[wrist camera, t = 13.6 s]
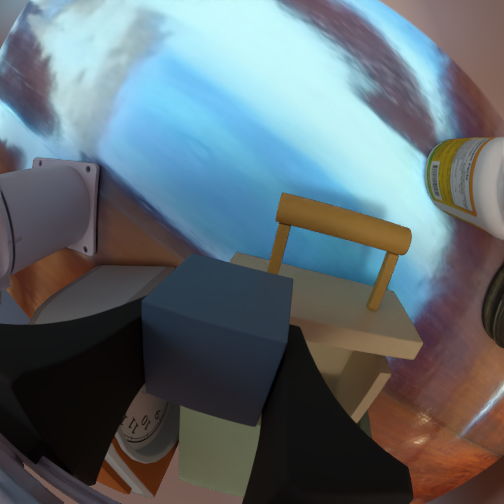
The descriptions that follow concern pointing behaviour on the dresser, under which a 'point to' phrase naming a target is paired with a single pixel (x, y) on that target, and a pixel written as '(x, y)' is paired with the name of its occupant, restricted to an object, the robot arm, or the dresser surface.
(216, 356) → the block
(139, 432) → the alarm clock
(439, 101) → the dresser surface
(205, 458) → the cabinet
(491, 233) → the supplement bottle
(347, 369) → the drawer
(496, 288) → the container
